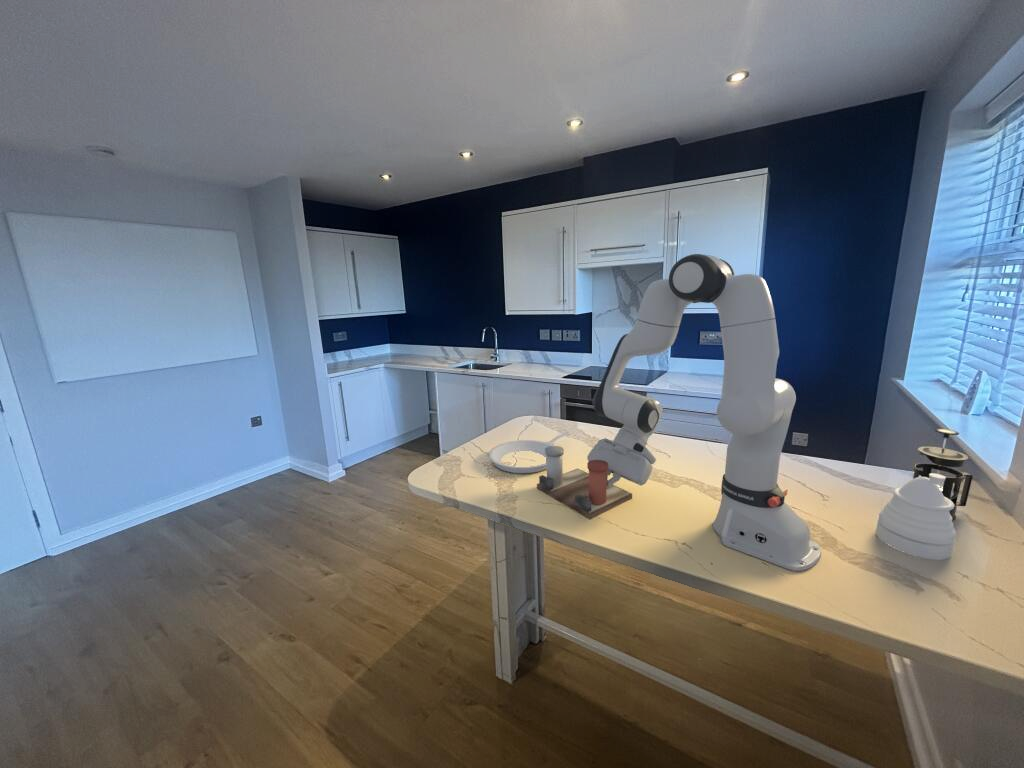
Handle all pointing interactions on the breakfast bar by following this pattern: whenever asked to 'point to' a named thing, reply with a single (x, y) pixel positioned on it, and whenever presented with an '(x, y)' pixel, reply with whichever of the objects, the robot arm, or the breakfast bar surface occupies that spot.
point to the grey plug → (554, 464)
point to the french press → (942, 460)
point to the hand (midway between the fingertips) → (604, 485)
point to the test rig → (582, 493)
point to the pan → (521, 445)
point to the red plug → (597, 481)
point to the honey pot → (919, 519)
